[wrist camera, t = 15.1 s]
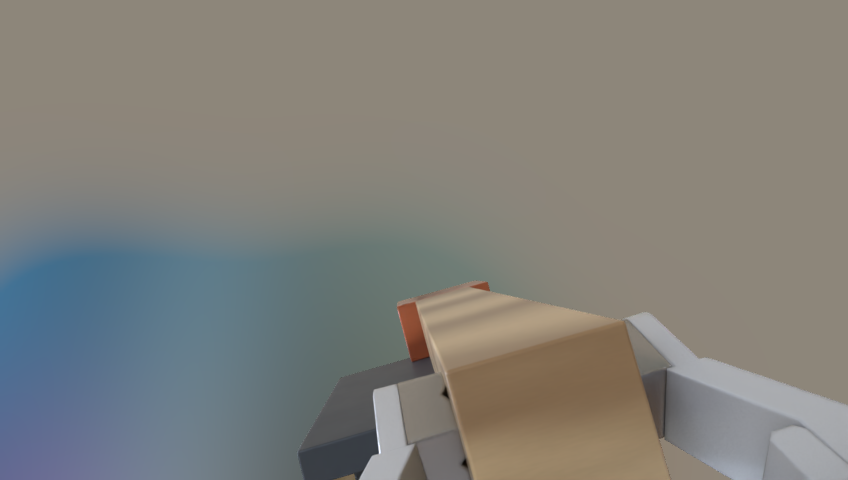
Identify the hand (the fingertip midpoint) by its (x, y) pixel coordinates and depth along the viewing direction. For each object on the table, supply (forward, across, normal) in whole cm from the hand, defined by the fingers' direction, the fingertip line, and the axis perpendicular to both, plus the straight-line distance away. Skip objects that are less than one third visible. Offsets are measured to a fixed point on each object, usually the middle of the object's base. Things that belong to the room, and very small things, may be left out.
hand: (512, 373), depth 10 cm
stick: (+6, 0, +6) cm, 8 cm away
